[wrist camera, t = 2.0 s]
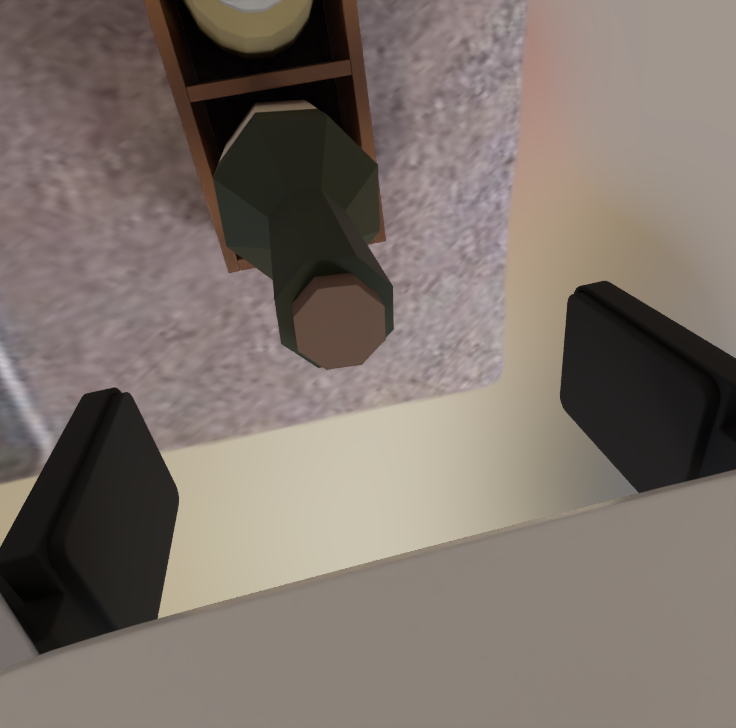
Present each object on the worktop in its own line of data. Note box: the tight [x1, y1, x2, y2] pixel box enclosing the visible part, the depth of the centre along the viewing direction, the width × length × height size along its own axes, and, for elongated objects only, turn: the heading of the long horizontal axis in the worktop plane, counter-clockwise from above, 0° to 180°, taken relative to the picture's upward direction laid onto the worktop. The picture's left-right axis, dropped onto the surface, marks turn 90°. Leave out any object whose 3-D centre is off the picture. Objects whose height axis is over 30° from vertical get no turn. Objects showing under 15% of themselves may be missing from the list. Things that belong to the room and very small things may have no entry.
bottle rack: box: [144, 0, 386, 273], centre depth 32 cm, size 21×11×8 cm, turn 8°
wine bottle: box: [213, 97, 394, 370], centre depth 25 cm, size 8×8×30 cm
